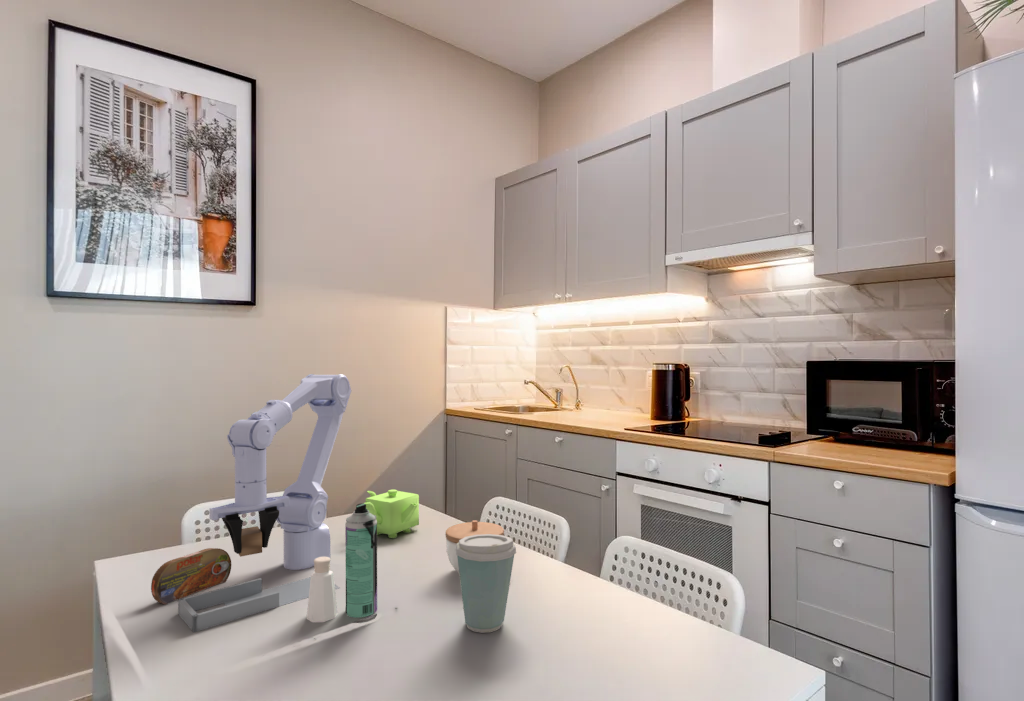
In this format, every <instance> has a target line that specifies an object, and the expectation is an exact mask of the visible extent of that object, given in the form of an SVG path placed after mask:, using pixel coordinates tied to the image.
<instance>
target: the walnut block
mask: <svg viewBox="0 0 1024 701" xmlns="http://www.w3.org/2000/svg"><path fill="white" fill-rule="evenodd" d="M241 543H242V551H241V553H239V554H238V556H239V557H246V556H251V555H257V554H261V553H263V547H262V532H261V530H260V526H258V525H257V526H250V527H245V528H242V533H241Z"/></svg>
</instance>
